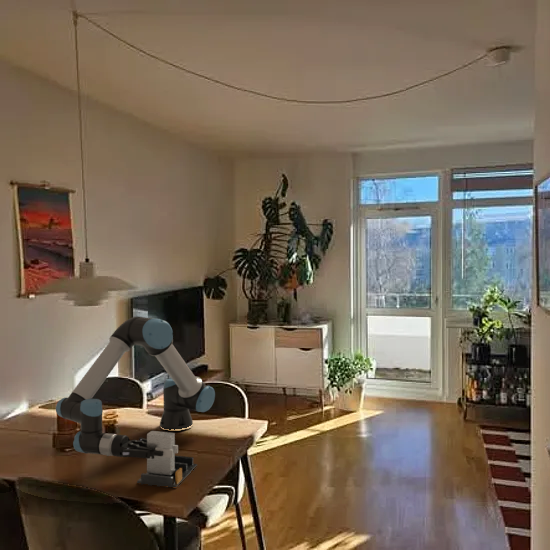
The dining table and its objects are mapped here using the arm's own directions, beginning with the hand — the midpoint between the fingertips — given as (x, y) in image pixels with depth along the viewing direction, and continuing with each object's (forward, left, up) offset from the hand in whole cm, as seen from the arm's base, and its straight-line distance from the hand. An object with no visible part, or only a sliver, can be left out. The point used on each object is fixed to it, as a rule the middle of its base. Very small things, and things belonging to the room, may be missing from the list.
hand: (175, 451), depth 186 cm
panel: (0, -5, -8) cm, 10 cm away
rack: (-6, -5, -12) cm, 14 cm away
